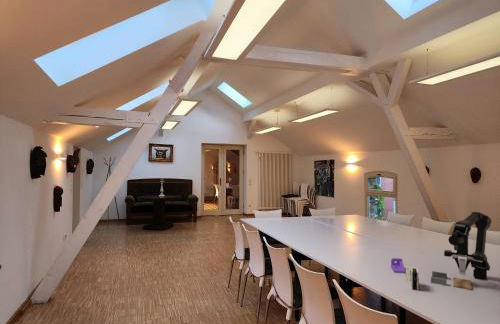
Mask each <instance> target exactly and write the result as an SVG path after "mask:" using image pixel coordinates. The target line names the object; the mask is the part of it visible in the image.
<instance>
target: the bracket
mask: <svg viewBox="0 0 500 324" xmlns="http://www.w3.org/2000/svg"><path fill="white" fill-rule="evenodd" d="M390 268H391V269H392V271H393V273H396V274H405V275H406V267H405V266H404V262H403V259H402V258H398V257H392V258H391V259H390Z"/></svg>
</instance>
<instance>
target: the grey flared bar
mask: <svg viewBox="0 0 500 324" xmlns="http://www.w3.org/2000/svg"><path fill="white" fill-rule="evenodd" d="M458 260H459V269H458V271H459V272H458V273H459V275H461V276H466V273H467V272H466V271H467V270H465V267H466V260H467V259H465V258H464V259H463V258H458Z"/></svg>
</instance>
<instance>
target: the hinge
mask: <svg viewBox="0 0 500 324" xmlns="http://www.w3.org/2000/svg"><path fill="white" fill-rule="evenodd" d="M419 282H420V277H419V269H418V268H417V267H415V266H410V265H405V283H408V284H409V285H410V287H411V288H410V289H411V290H412V291H414V290H415V291H419Z"/></svg>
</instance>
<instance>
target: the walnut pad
mask: <svg viewBox="0 0 500 324" xmlns="http://www.w3.org/2000/svg"><path fill="white" fill-rule="evenodd" d="M452 285H453V286H452V287H453V288H457V289H463V290H468V291H469V290H470V291H472V290H473V286H472V280H471V279H466V278H460V277H458V278H457V277H453V284H452Z"/></svg>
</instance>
